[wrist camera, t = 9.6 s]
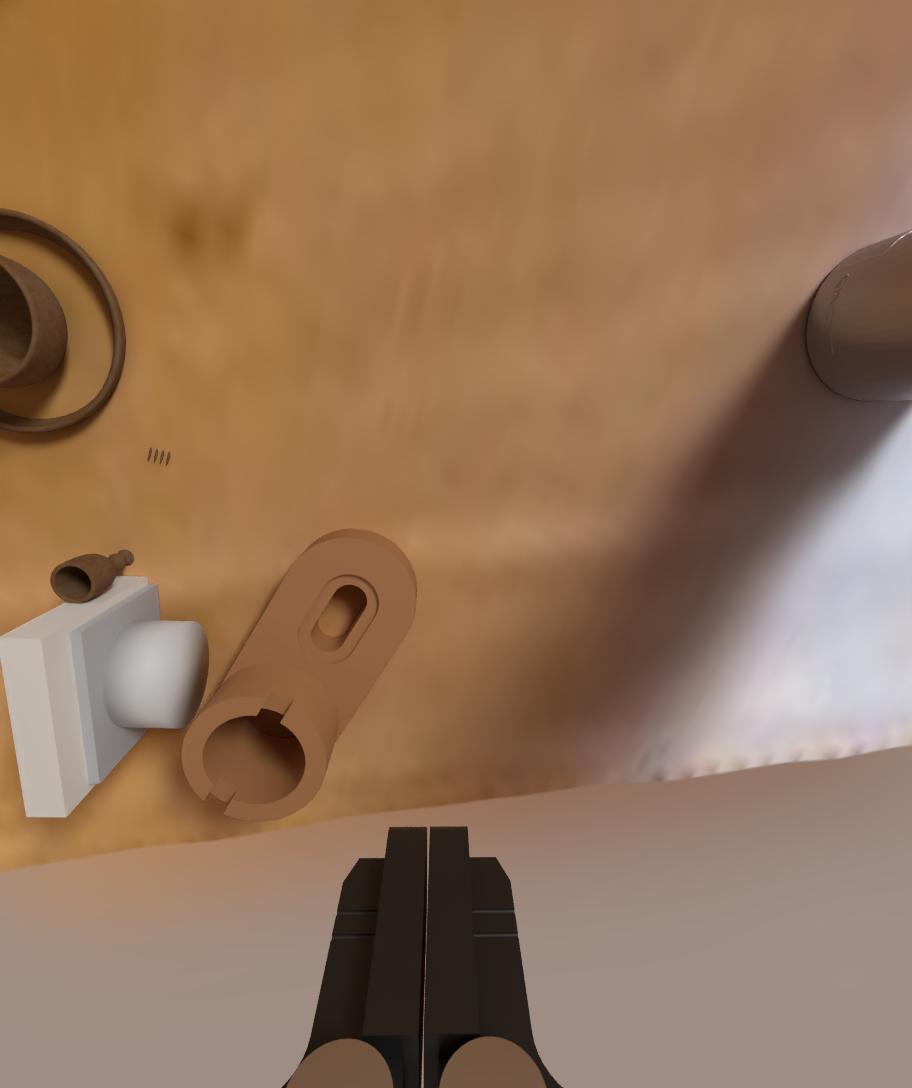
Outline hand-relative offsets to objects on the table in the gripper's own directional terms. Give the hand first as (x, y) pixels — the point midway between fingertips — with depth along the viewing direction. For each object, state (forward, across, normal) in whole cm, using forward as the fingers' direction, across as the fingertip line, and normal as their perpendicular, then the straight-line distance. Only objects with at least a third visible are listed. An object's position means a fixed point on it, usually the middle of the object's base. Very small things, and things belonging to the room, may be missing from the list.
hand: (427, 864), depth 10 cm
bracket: (+27, +8, +8) cm, 29 cm away
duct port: (+26, +18, +7) cm, 33 cm away
